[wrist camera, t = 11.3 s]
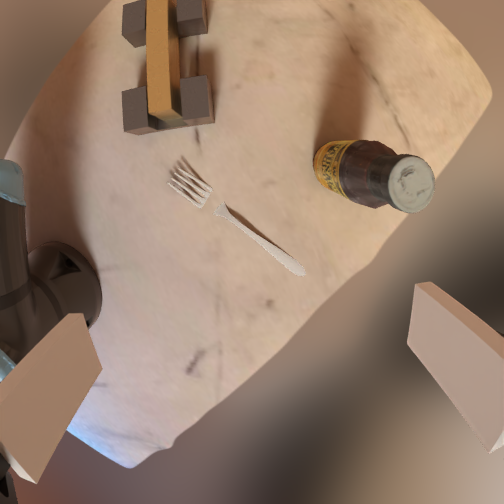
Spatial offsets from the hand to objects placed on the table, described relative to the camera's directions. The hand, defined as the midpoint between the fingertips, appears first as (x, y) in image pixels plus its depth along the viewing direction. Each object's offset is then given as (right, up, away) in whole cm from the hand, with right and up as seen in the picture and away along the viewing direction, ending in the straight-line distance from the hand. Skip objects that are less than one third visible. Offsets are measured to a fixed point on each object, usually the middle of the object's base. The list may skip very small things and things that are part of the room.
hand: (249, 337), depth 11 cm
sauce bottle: (+11, +14, +26) cm, 32 cm away
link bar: (-10, +27, +21) cm, 36 cm away
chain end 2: (-10, +21, +24) cm, 33 cm away
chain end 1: (-11, +33, +20) cm, 41 cm away
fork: (0, +6, +29) cm, 29 cm away
